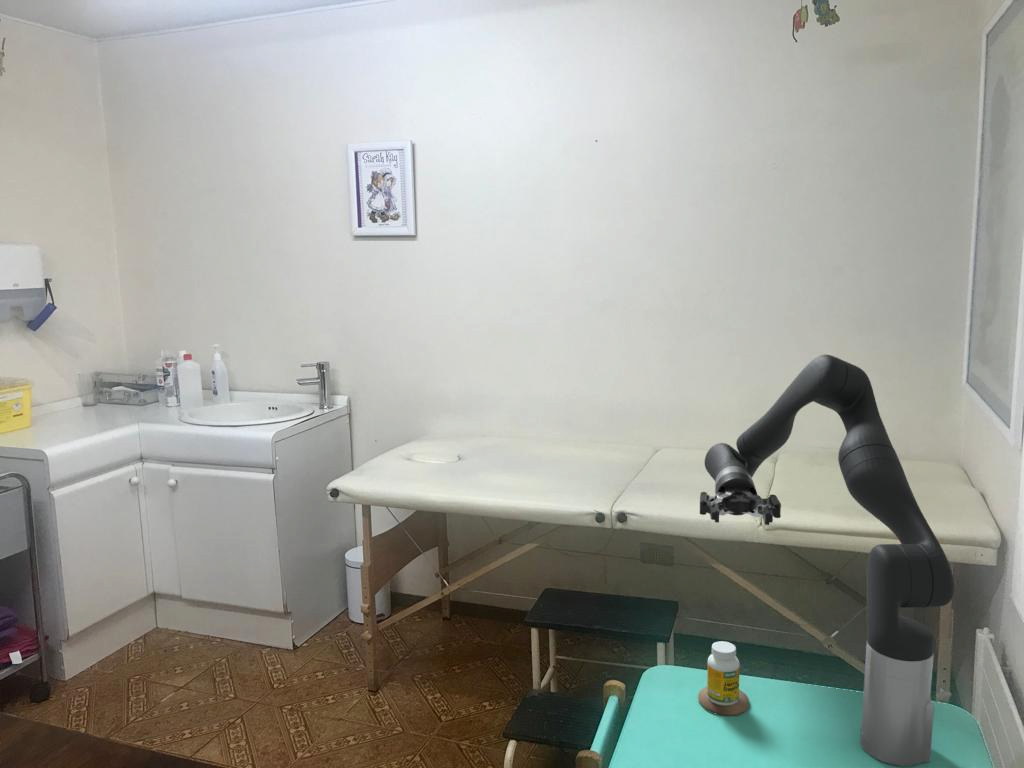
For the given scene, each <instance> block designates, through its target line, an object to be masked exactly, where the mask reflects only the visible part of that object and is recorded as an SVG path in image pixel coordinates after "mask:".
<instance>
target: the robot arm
mask: <svg viewBox="0 0 1024 768" xmlns="http://www.w3.org/2000/svg"><path fill="white" fill-rule="evenodd" d="M813 402H814V403H816V404H818V405H820V406H823V407H826V408H827V409H830V410H833V411H834V412H836V413H837V415H838V416H839V418H840V419H841V422H842V424H843V426H844V429H845V432H846V434H845V436H844V439H843V440H842V443H841V445H840V448H839V451H838V465H839V468H840V472H841V475H842V477H843V480H844V483H845V486H846V488H847V491H848V493H849V494H850V496H851V497H852V498H853V499H854V500H855V501H856V503H858V504H859V505H860V506H861V507H862V508H863V509H864V510H865V511H867V512H868V514H869V513H870V514H871V515H872V516H873V517H874V518H876V519H877V520H878V521H879V522H880V523H882V524H883V525H884V526H886V527H887V528H888V529H889V530H890V531H891V532H892V533H893V535H895V536H896V538H897V539H898V541H899V542H900V543H899V544H897V543H891V544H890V543H888V544H887V543H886V544H885V543H882V544H877V545H874V546H873V547H872V549H871V550H870V551H869V554H868V558H867V565H866V612H865V613H866V615H865V616H866V629H867V630H866V631H867V634H866V647H865V662H864V663H865V664H864V665H865V666H864V676H863V677H864V679H863V692H862V693H863V694H862V696H863V697H862V711H861V726H860V745H861V747H862V748H863V749H864V751H865V752H866V753H868V754H869V755H870V756H871V757H873V758H875V759H876V760H878V761H881V762H882V763H886V764H889V765H895V766H898V767H899V766H901V767H911V766H912V767H913V766H916V765H919V764H921V763H931V751H932V741H933V730H934V729H933V728H934V727H933V726H934V717H935V716H934V715H935V703H934V702H933V700H932V698H931V691H932V680H933V665H934V656H935V655H934V652H935V643H936V642H935V636H934V633H933V632H932V631H931V630H930V628H928V627H927V626H926V625H925V624H923V623H921V622H919V621H917V620H915V619H912V618H910V617H907V616H904V615H902V614H900V613H899V612H900V611H899V610H900V608H918V609H919V608H926V609H927V608H939V607H940V608H941V607H945V606H947V605H948V604H949V603H951V601H953V600H952V599H953V598H954V595H955V580H954V579H955V578H954V575H953V572H952V571H953V570H952V568H951V565H950V562H949V560H948V557H947V555H946V553H945V551H944V550H943V549H944V548H943V547H942V546H941V544H940V542H939V540H938V539H937V536H936V535H935V533H934V532H933V530H932V528H931V526H930V525H929V523H928V521H927V519H926V517H925V516H924V514H923V512H922V510H921V508H920V506H919V504H918V502H917V500H916V497H915V496H914V493H913V491H912V489H911V487H910V484H909V482H908V479H907V477H906V473H905V471H904V468H903V466H902V464H901V461H900V458H899V457H898V454H897V452H896V450H895V448H894V447H893V443H892V442H891V439H890V437H889V434H888V432H887V430H886V427H885V425H884V422H883V420H882V418H881V417H882V416H881V415H880V412H879V407H878V405H877V401H876V397H875V393H874V390H873V387H872V383H871V380H870V378H869V376H868V374H867V373H866V372H865V370H863V369H862V368H861V367H859V366H857V365H855V364H852V363H851V362H848V361H846V360H843V359H842V358H839V357H836V356H835V355H830V354H820V355H819V356H817V357H815V358H813V359H812V360H811V361H810V362H809V363H807V365H806V366H805V367H804V368H803V369H802V370H801V371H800V372H799V374H798V375H796V377H795V378H794V379H793V381H791V382H790V384H789V385H788V386H787V387H786V389H785V390H784V392H782V394H781V395H780V396H779V398H778V399H777V400H776V401H775V403H774V404H773V405H772V406H771V407H770V408H769V410H767V411H766V412H765V413H764V415H763V416H761V417H760V418H759V419H758V420H756V421H755V422H754V423H753V424H752V425H751V426H749V427H748V428H747V429H746V430H744V431H743V432H742V433H741V434H740V435H739V436H738V438H737V439H736V449H737V450H736V449H735V448H734V447H733V446H732V445H730V444H728V443H727V442H726V443H724V442H719V443H716V444H714V445H713V446H711V447H710V448H709V449H708V451H707V452H706V454H705V457H704V467H705V470H706V472H707V473H708V475H709V476H710V477H711V478H712V480H713V481H714V482H715V483H714V493H715V495H714V496H710V494H708V493H707V492H705V491H701V492H700V496H699V515H701V516H704V515H707V514H709V516H710V517H709V518H710V520H712V521H714V523H720V516H721V517H723V516H726V515H732V516H743V515H750V516H752V517H754V518H759V517H761V518H762V520H763V522H764V525H765V526H770V523H773V522H774V518H775V519H780V518H781V517H782V516H781V512H782V511H781V510H782V509H781V508H782V504H781V501H780V500H779V498H778V497H777V495H775V494H769V496H767V498H762V497H761V496H760V495H759V494H758V491H757V489H756V485H755V483H754V480H753V477H754V475H755V474H756V472H757V470H758V469H759V467H760V466H761V465H762V464H763V463H764V462H765V460H767V459H768V458H769V457H771V456H772V455H773V454H775V453H776V452H777V451H778V450H780V449H781V448H782V447H783V446H784V445H785V444H786V443H787V441H788V440H789V439H790V436H791V434H792V431H793V427H794V423H795V419H796V416H797V414H798V412H799V411H800V410H802V409H803V408H804V407H805V406H807V405H809V404H810V403H813Z"/></svg>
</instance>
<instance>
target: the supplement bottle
mask: <svg viewBox="0 0 1024 768" xmlns="http://www.w3.org/2000/svg"><path fill="white" fill-rule="evenodd" d="M736 655H737V647H736V645H735V644H733V643H731V642H728V641H724V640H721V641H715V642H713V643H712V645H711V654H709V656H708V658H707V666H706V667H707V671H706V672H707V673H706V675H707V677H706V678H707V679H706V680H707V681H706V682H707V683H706V684H707V685H706V687H707V696H708V698H709V700H710V701H712V702H713V703H715V704H718V705H722V706H729V705H733V704H735V703H736V702H737V701H738V698H739V690H740V670H741V665H740V664H741V663H740V661H739V659H738V657H737V656H736Z"/></svg>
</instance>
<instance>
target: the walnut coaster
mask: <svg viewBox="0 0 1024 768" xmlns="http://www.w3.org/2000/svg"><path fill="white" fill-rule="evenodd" d="M697 699H698V700H699V701H698V703H699V704H701V705H702V706H701V705H700V706H701V707H702V708H703V709H704V708H705V710H706V709H707V710H708V712H709V711H710V712H709V713H711V712H712V714H714V713H716V714H715V715H717V714H718V716H722V715H723V717H735V716H739V715H742V714H744V713H746V712H747V711H748V709H749V707H750V698H749V696H748V695H747V694H746V693H745V692H743V691H742V690H740V689H739V698H738V701H737V702H736V703H735V704H733V705H729V706H722V705H718V704H715V703H713V702H712V701H710V700H709V698H708V696H707V686H705V687H703V688H702V689H700V691H699V692H698V694H697ZM707 710H706V711H707Z"/></svg>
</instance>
